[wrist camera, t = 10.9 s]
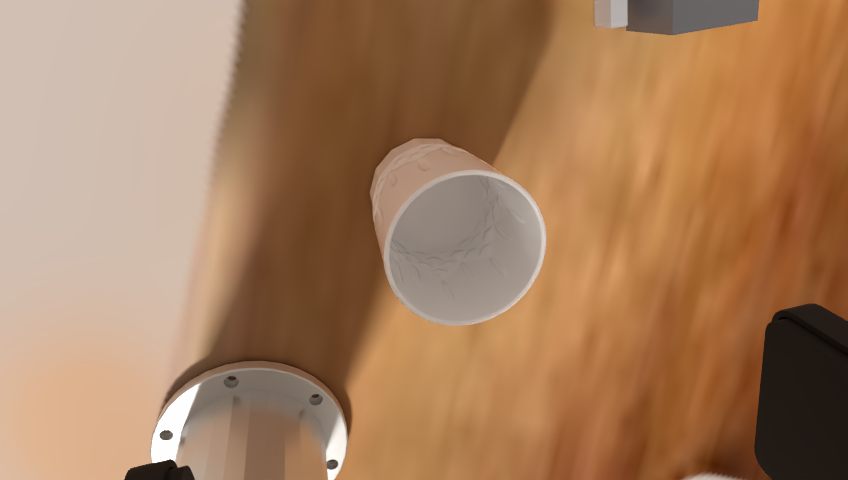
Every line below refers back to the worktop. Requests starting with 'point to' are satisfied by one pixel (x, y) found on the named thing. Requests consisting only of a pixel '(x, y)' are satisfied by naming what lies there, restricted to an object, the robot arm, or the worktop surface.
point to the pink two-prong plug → (610, 13)
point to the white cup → (454, 233)
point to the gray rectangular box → (687, 15)
